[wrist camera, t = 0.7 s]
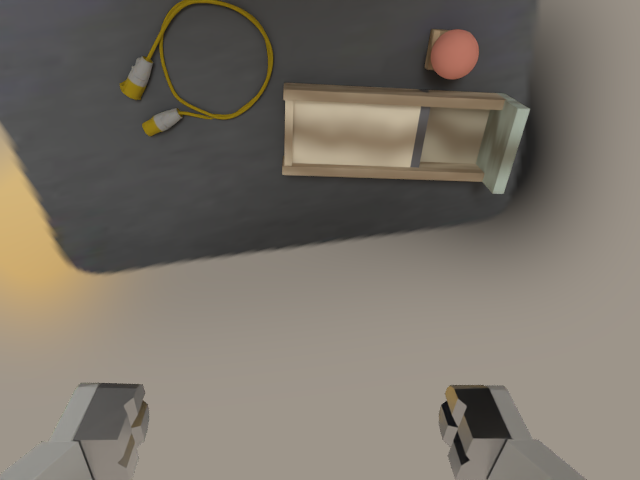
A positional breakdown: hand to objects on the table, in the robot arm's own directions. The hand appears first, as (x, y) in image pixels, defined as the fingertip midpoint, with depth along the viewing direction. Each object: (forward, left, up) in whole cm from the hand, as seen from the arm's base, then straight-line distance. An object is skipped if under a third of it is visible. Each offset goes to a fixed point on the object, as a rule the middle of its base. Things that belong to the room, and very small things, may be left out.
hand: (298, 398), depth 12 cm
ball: (-4, +15, -36) cm, 39 cm away
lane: (+5, +10, -39) cm, 41 cm away
